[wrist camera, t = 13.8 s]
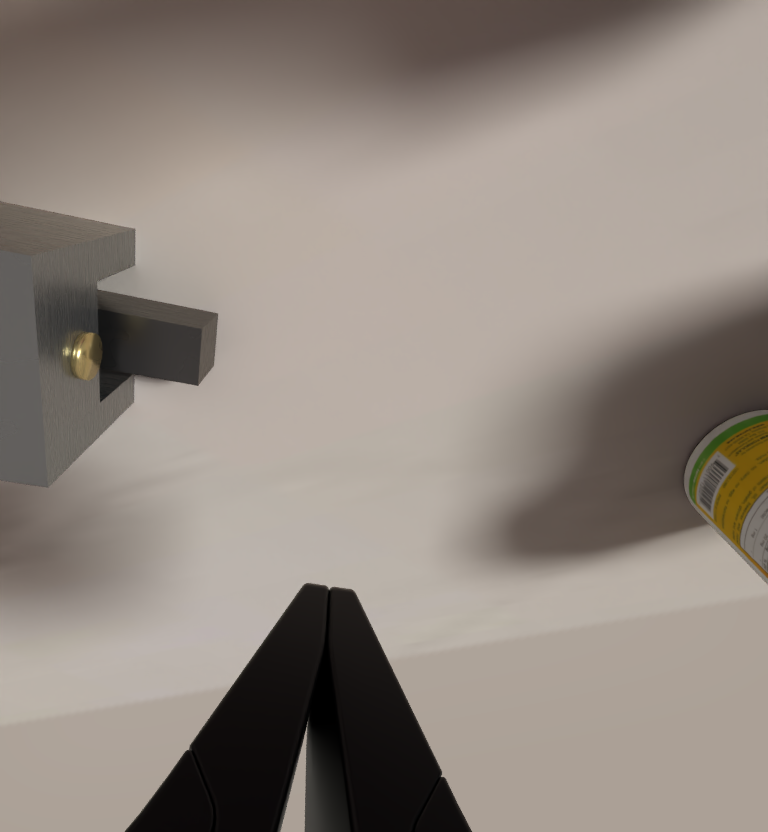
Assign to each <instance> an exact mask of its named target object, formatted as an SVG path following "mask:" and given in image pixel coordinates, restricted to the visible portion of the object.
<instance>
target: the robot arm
mask: <svg viewBox="0 0 768 832" xmlns="http://www.w3.org/2000/svg"><path fill="white" fill-rule="evenodd" d="M307 722H308V726H307ZM306 727H307V745H306V746H307V747H306V794H305V796H306V797H305V832H472V831H471V829H470V827H469V825H468V823H467V821H466V819H465V817H464V815H463V813H462V811H461V810H460V808H459V806H458V804H457V801H456V800H455V797H454V795H453V793H452V791H451V789H450V787H449V785H448V783H447V781H446V779H445V778H444V777H441V775H442V771H441V769H440V767H439V765H438V763H437V760H436V758H435V756H434V754H433V752H432V750H431V748H430V746H429V744H428V742H427V740H426V738H425V736H424V734H423V732H422V729H421V727H420V725H419V723H418V721H417V719H416V717H415V715H414V713H413V711H412V709H411V707H410V705H409V703H408V700H407V699H406V696H405V694H404V692H403V690H402V688H401V686H400V684H399V682H398V680H397V678H396V676H395V674H394V672H393V669H392V667H391V665H390V663H389V661H388V659H387V657H386V655H385V653H384V651H383V649H382V647H381V645H380V643H379V641H378V638H377V636H376V634H375V632H374V630H373V628H372V626H371V624H370V622H369V620H368V618H367V616H366V614H365V612H364V610H363V607H362V605H361V603H360V601H359V599H358V597H357V595H356V593H355V592H354V591H353V590H351V589H346V588H339V587H332V588H330V590H329V589H328V587H327V586H325V585H318V584H311V583H306V584H304V585H303V586H302V588H301V589H300V591H299V592H298V593H297V595H296V596H295V598H294V599H293V600H292V602H291V603H290V605H289V606H288V608H287V609H286V610H285V612H284V613H283V615H282V616H281V617H280V619H279V620H278V622H277V623H276V625H275V626H274V627H273V629H272V630H271V632H270V633H269V634H268V636H267V637H266V639H265V640H264V641H263V643H262V644H261V646H260V647H259V649H258V650H257V651H256V653H255V654H254V656H253V657H252V658H251V660H250V661H249V663H248V664H247V666H246V667H245V668H244V670H243V671H242V673H241V674H240V675H239V677H238V678H237V680H236V681H235V682H234V684H233V685H232V687H231V688H230V690H229V691H228V692H227V694H226V695H225V697H224V698H223V699H222V701H221V702H220V704H219V705H218V707H217V708H216V709H215V711H214V712H213V714H212V715H211V716H210V718H209V719H208V721H207V722H206V724H205V725H204V726H203V728H202V729H201V731H200V732H199V734H198V735H197V736H196V738H195V739H194V741H193V742H192V743H191V745H190V748H189V750H187V751H186V752H185V753H184V754H183V756H182V757H181V758H180V760H179V761H178V763H177V764H176V765H175V767H174V768H173V770H172V771H171V773H170V774H169V775H168V777H167V778H166V779H165V781H164V782H163V783H162V785H161V786H160V787H159V789H158V790H157V791H156V793H155V794H154V795H153V797H152V798H151V799H150V801H149V802H148V803H147V805H146V806H145V807H144V809H143V810H142V811H141V813H140V814H139V815H138V816H137V817H136V819H135V820H134V821H133V822H132V823H131V825H130V826H129V827H128V828H127V829H126V831H125V832H280V830H281V827H282V823H283V819H284V815H285V811H286V807H287V803H288V799H289V795H290V791H291V787H292V783H293V779H294V775H295V771H296V767H297V763H298V759H299V755H300V751H301V747H302V743H303V739H304V735H305V731H306Z"/></svg>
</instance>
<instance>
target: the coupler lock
mask: <svg viewBox="0 0 768 832" xmlns="http://www.w3.org/2000/svg"><path fill="white" fill-rule="evenodd" d="M132 266H135V229H133V228H128V227H123V226H118V225H113V224H108V223H103V222H99V221H94V220H89V219H84V218H79V217H74V216H69V215H64V214H59V213H54V212H50V211H45V210H40V209H35V208H30V207H25V206H20V205H15V204H10V203H5V202H1V201H0V480H1V481H8V482H14V483H21V484H28V485H34V486H41V487H49V486H50V485H51V484H52V483H53V482H54V481H55V480H56V479H57V478H58V477H59V476H60V475H61V474H62V473H63V472H64V471H65V470H66V469H67V468H68V467H69V466H70V465H71V464H72V463H73V462H74V461H75V460H76V459H77V458H78V457H79V456H80V455H81V454H82V453H83V452H84V451H85V450H86V449H87V448H88V447H89V446H90V445H91V444H92V443H93V442H94V441H95V440H96V439H97V438H98V437H99V436H100V435H101V434H102V433H103V432H104V431H105V430H106V429H107V428H108V427H109V426H110V425H111V424H112V423H113V422H114V421H115V420H116V419H117V418H118V417H119V416H120V415H121V414H122V413H123V412H124V411H125V410H127V409H128V408H129V407H130V406H131V405H132V404H133V403H134V374H131V373H126V372H120V371H115V370H109V369H104V368H100V365H101V361H102V353H103V348H102V342H101V339H100V337H99V335H98V297H97V281H98V280H101V279H103V278H105V277H108V276H110V275H113V274H115V273H118V272H120V271H122V270H125V269H127V268H130V267H132Z"/></svg>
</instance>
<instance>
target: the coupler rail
mask: <svg viewBox="0 0 768 832" xmlns="http://www.w3.org/2000/svg"><path fill="white" fill-rule="evenodd" d="M97 297H98V335H99V337H100V339H101V342H102V348H103V353H102V361H101V365H100V368H104V369H109V370H115V371H120V372H126V373H131V374H137V375H142V376H148V377H153V378H159V379H164V380H170V381H175V382H181V383H186V384H192V385H197V386H198V385H199V384H200V382H201V381H202V380H203V379H204V377H205V376H206V375H207V374H208V372H209V371H210V370H211V368H212V367H213V366H214V356H215V344H216V332H217V320H218V313H213V312H208V311H203V310H198V309H192V308H187V307H182V306H177V305H172V304H167V303H162V302H157V301H152V300H147V299H142V298H137V297H132V296H127V295H122V294H117V293H112V292H107V291H102V290H97Z"/></svg>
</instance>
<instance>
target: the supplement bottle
mask: <svg viewBox="0 0 768 832" xmlns="http://www.w3.org/2000/svg"><path fill="white" fill-rule="evenodd" d="M684 488H685V492H686V495H687V497H688V499H689V501H690V503H691V504H692V506H693V507H694V508H695V509H696V510H697V512H698V513H699V514H700V515H701V516H702V517H703V518H704V519H705V520H706V521H707V522H708V523H709V525H710V526H711V527H712V528H714V530H715V531H716V532H717V533H718V534H719V535H720V536H721V537H722V538H723V539H724V540H725V541H726V542H727V543H728V544H729V545H730V546H731V547H732V548H733V549H734V550H735V551H736V552H737V553H738V554H739V555H740V556H741V557H742V558H743V559H744V560H745V561H746V563H747V564H748V565H749V566H750V567H751V568H752V569H753V570H754V571H755V572H756V573H757V574H758V575H759V576H760V577H761V578H762V579H763V580H764V581H765V582H766V583H767V584H768V410H757V411H752V412H747V413H744V414H741V415H738V416H736V417H734V418H731V419H729V420H727V421H726V422H724V423H722V424H721V425H719V426H718V427H716V428H715V429H713V430H712V431H711V432H710V433H709V434H708V435H706V436H705V437H704V438H703V440H702V441H701V442H700V443H699V444H698V446H697V447H696V448H695V450H694V451H693V453H692V454H691V456H690V458H689V460H688V463H687V466H686V469H685V474H684Z"/></svg>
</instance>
